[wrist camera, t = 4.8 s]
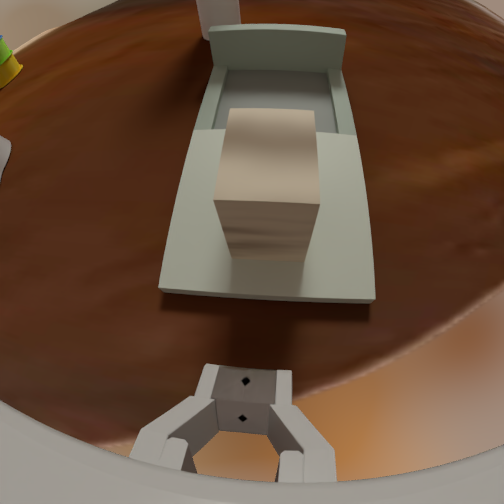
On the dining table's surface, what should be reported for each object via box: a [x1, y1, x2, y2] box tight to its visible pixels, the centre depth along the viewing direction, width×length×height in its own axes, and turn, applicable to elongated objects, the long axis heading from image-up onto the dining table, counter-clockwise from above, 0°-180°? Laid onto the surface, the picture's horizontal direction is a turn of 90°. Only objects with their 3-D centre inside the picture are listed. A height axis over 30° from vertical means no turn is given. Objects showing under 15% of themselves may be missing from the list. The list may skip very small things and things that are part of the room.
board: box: [158, 24, 375, 304], centre depth 28 cm, size 34×18×8 cm, turn 176°
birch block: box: [213, 108, 320, 262], centre depth 22 cm, size 8×6×9 cm
